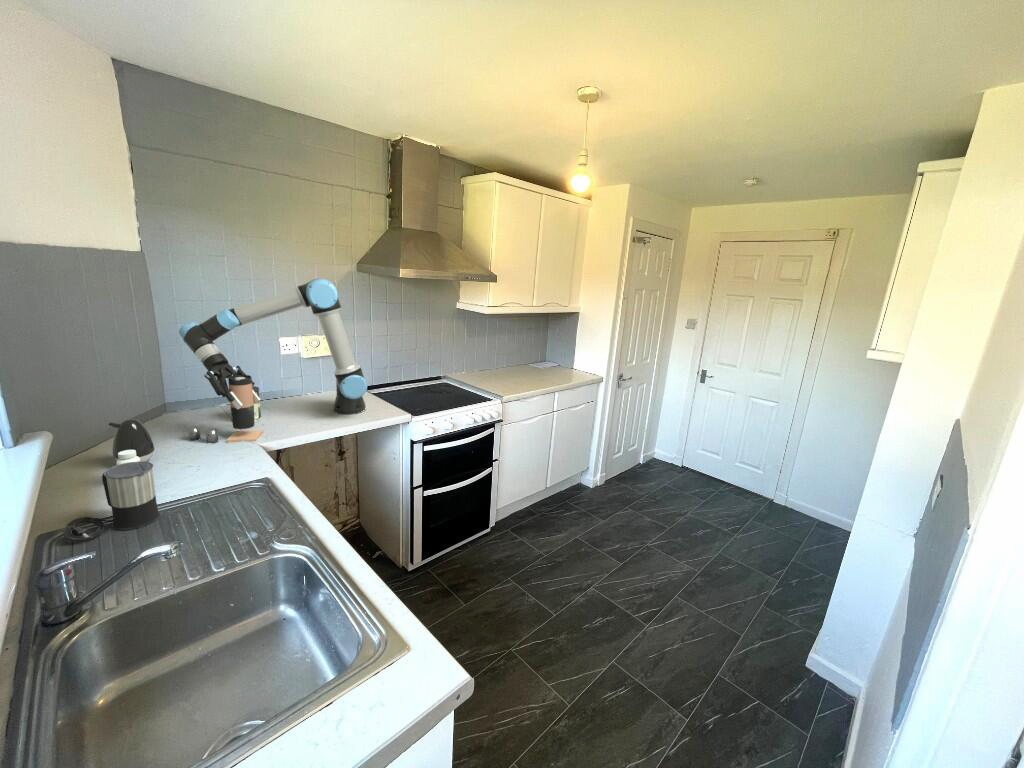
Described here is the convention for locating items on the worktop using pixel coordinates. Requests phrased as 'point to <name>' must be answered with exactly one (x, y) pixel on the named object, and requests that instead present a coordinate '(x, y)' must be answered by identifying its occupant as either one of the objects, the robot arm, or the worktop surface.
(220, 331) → the robot arm
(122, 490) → the milk frother
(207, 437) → the spacer posts
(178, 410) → the worktop surface
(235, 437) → the terracotta tile
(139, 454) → the pump dispenser
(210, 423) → the worktop surface
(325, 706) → the worktop surface
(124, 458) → the supplement bottle
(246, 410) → the travel mug
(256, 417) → the coffee can
